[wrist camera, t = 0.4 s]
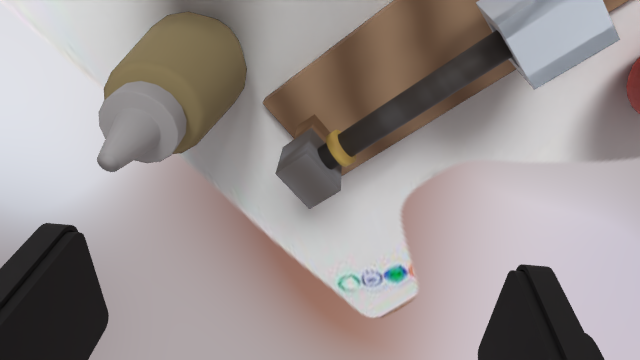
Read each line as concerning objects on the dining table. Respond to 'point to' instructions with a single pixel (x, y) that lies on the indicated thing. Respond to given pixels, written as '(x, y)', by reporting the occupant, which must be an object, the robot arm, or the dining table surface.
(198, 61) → the squeeze bottle
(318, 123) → the rod stand
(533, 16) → the sleeve
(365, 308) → the dining table surface
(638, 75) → the vegetable
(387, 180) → the dining table surface
